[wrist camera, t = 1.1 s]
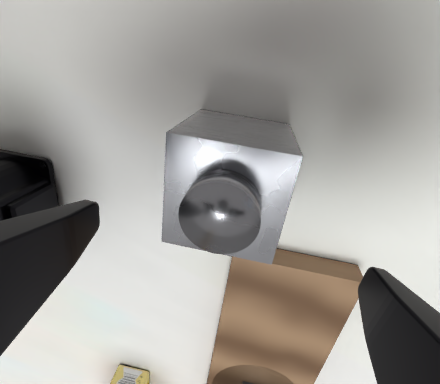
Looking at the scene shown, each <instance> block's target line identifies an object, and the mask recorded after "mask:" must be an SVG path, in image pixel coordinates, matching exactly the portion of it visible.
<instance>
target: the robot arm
mask: <svg viewBox="0 0 440 384" xmlns="http://www.w3.org/2000/svg"><path fill="white" fill-rule="evenodd" d="M43 163H44V164H45V166H44V164H43ZM99 224H100V219H99V205H98V203H96V202H93V201H89V200H82V201H78V202H74V203H70V204H66V205H62V206H58V200H57V194H56V188H55V181H54V175H53V169H52V164H51V162H50V161H49V160H48V159H46V158H42V157H36V156H31V155H26V154H21V153H16V152H10V151H5V150H0V356H1V355H2V353H3V352H4V351H5V350H6V349H7V347H8V346H9V345H10V344H11V342H12V341H13V340H14V339H15V338H16V336H17V335H18V334H19V333H20V331H21V330H22V329H23V328H24V327H25V325H26V324H27V323H28V322H29V320H30V319H31V318H32V317H33V316H34V314H35V313H36V312H37V311H38V309H39V308H40V307H41V306H42V305H43V303H44V302H45V301H46V300H47V298H48V297H49V296H50V295H51V294H52V292H53V291H54V290H55V289H56V287H57V286H58V285H59V284H60V282H61V281H62V280H63V279H64V278H65V276H66V275H67V274H68V273H69V271H70V270H71V269H72V268H73V266H74V265H75V263H76V262H77V261H78V259H79V258H80V256H81V255H82V253H83V252H84V250H85V248H86V247H87V245H88V244H89V242H90V241H91V239H92V238H93V236H94V235H95V233H96V232H97V230H98V228H99ZM358 297H359V304H360V310H361V316H362V322H363V328H364V334H365V339H366V343H367V347H368V351H369V355H370V359H371V362H372V366H373V369H374V373H375V377H376V380H377V384H440V313H439V312H438V311H436V310H435V309H434V308H433V307H431V306H430V305H429V304H428V303H426V302H425V301H424V300H423V299H421V298H420V297H419V296H417V295H416V294H415V293H414V292H412V291H411V290H410V289H409V288H407V287H406V286H405V285H404V284H402V283H401V282H400V281H399V280H397V279H396V278H395V277H393V276H392V275H391V274H390V273H388V272H387V271H386V270H384V269H380V268H375V267H370V268H369V269H368V270H367V271H366V273H365V275H364V277H363V278H362V280H361V282H360V284H359V286H358Z"/></svg>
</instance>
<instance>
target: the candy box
mask: <svg viewBox="0 0 440 384" xmlns="http://www.w3.org/2000/svg"><path fill="white" fill-rule="evenodd" d="M110 384H149V372H148V371H145V370H141V369H136V368H132V367H128V366H124V365H119V366H118V368H117V370H116V372H115V375H114V377H113V379H112V381H111V383H110Z"/></svg>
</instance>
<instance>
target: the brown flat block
mask: <svg viewBox="0 0 440 384" xmlns="http://www.w3.org/2000/svg"><path fill="white" fill-rule="evenodd" d="M362 278H363V276H362V274H361V271H360V269H359V267H358V265H355V264H350V263H345V262H340V261H335V260H330V259H325V258H320V257H316V256H311V255H306V254H301V253H296V252H291V251H286V250H282V249H277V248H276V252H275V255H274V259H273V262H272V265H271V264H266V263H261V262H256V261H252V260H247V259H242V258H237V257H233V256H232V260H231V265H230V270H229V275H228V280H227V285H226V290H225V295H224V300H223V305H222V310H221V315H220V320H219V325H218V330H217V335H216V340H215V345H214V350H213V355H212V360H211V365H210V370H209V375H208V380H207V384H314V382H315V380H316V378H317V377H318V375H319V373H320V371H321V369H322V367H323V365H324V363H325V361H326V359H327V357H328V355H329V354H330V352H331V350H332V348H333V346H334V344H335V342H336V340H337V338H338V336H339V334H340V332H341V331H342V329H343V327H344V325H345V323H346V321H347V319H348V317H349V315H350V313H351V311H352V309H353V308H354V306H355V304H356V302H357V300H358V298H359V297H358V286H359V284H360V282H361V280H362Z"/></svg>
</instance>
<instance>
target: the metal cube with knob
mask: <svg viewBox="0 0 440 384" xmlns="http://www.w3.org/2000/svg"><path fill="white" fill-rule="evenodd" d="M302 159H303V155H302V153H301V150H300V148H299V145H298V143H297V141H296V138H295V136H294V134H293V131H292V129H291V127H290V124H285V123H279V122H273V121H267V120H261V119H255V118H249V117H243V116H237V115H231V114H225V113H219V112H213V111H207V110H199V111H198V112H196V113H195V114H193V115H192V116H190V117H189V118H187V119H186V120H184V121H183V122H181V123H180V124H178V125H177V126H175V127H174V128H172V129H171V130H169V131H168V132H166V154H165V176H164V199H163V222H162V242H166V243H171V244H176V245H180V246H185V247H190V248H195V249H199V250H204V251H208V252H211V253H216V254H223V255H228V256H233V257H237V258H242V259H247V260H252V261H256V262H261V263H266V264H271V265H272V262H273V259H274V255H275V252H276V248H277V245H278V241H279V238H280V234H281V231H282V228H283V224H284V221H285V217H286V214H287V210H288V207H289V203H290V200H291V197H292V193H293V190H294V186H295V183H296V179H297V176H298V173H299V169H300V166H301V162H302Z"/></svg>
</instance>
